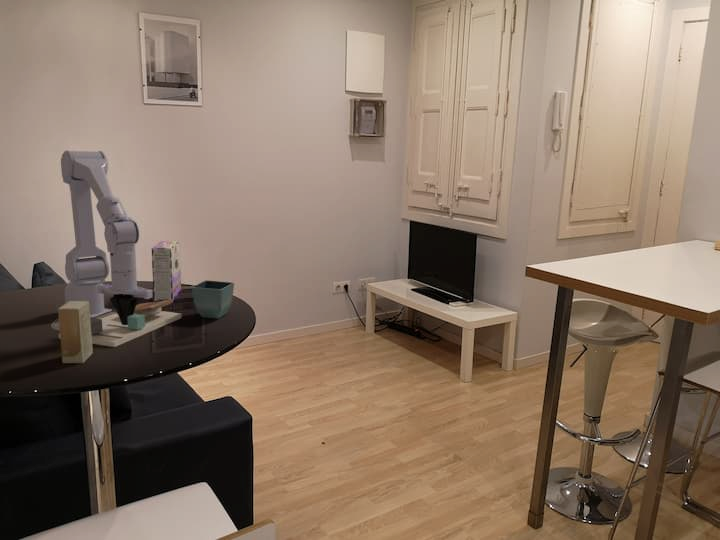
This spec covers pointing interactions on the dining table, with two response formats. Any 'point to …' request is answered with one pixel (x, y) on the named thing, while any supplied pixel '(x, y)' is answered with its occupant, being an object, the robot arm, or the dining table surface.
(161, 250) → the candy box
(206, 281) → the flower pot
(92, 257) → the robot arm
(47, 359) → the dining table surface
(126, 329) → the panel
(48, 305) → the dining table surface
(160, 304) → the panel
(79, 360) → the skincare box
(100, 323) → the graphite slider
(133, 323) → the teal slider
